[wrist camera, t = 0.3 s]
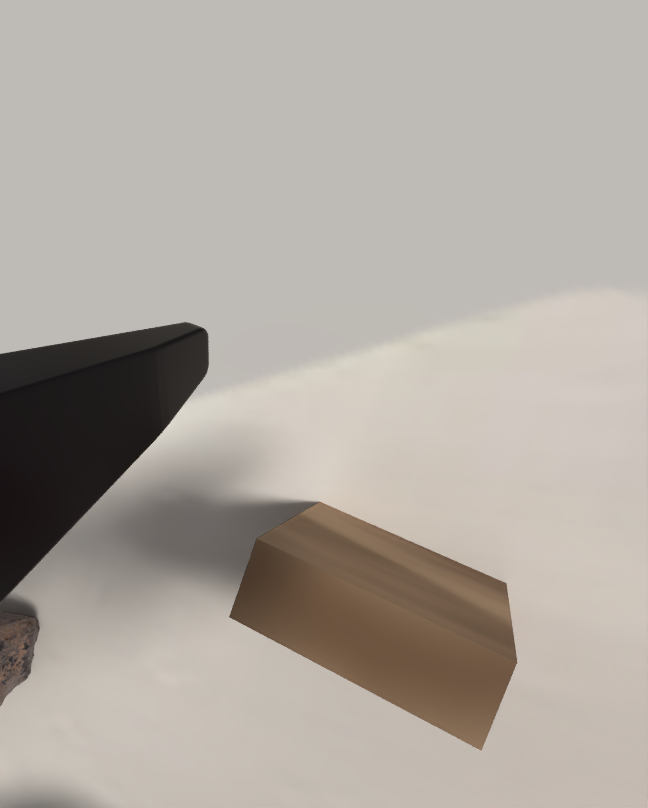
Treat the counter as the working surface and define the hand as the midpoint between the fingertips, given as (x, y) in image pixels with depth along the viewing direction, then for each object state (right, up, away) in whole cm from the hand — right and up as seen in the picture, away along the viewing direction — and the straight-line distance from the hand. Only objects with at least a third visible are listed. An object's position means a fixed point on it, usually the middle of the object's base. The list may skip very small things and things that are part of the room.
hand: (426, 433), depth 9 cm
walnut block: (+2, -7, +15) cm, 17 cm away
